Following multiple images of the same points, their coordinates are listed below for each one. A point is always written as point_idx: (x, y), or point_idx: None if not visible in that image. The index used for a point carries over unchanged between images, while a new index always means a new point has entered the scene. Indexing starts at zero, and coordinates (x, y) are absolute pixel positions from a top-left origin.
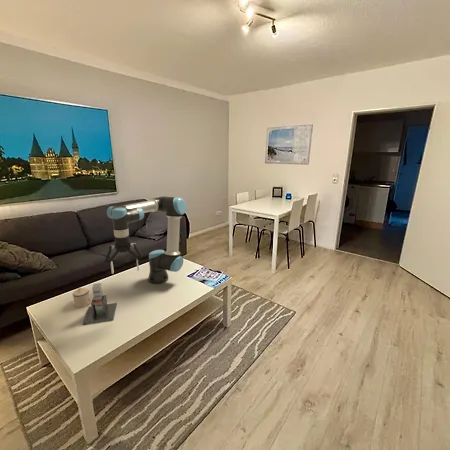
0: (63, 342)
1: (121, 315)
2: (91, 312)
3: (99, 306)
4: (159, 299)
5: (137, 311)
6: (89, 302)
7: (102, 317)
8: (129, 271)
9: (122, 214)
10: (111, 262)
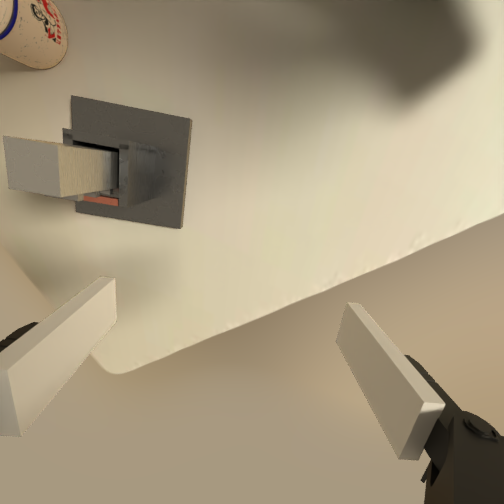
0: (46, 274)
1: (209, 210)
2: None
3: (115, 190)
4: (362, 162)
5: (265, 210)
6: (63, 42)
7: (142, 209)
8: None
9: None
10: (6, 413)
